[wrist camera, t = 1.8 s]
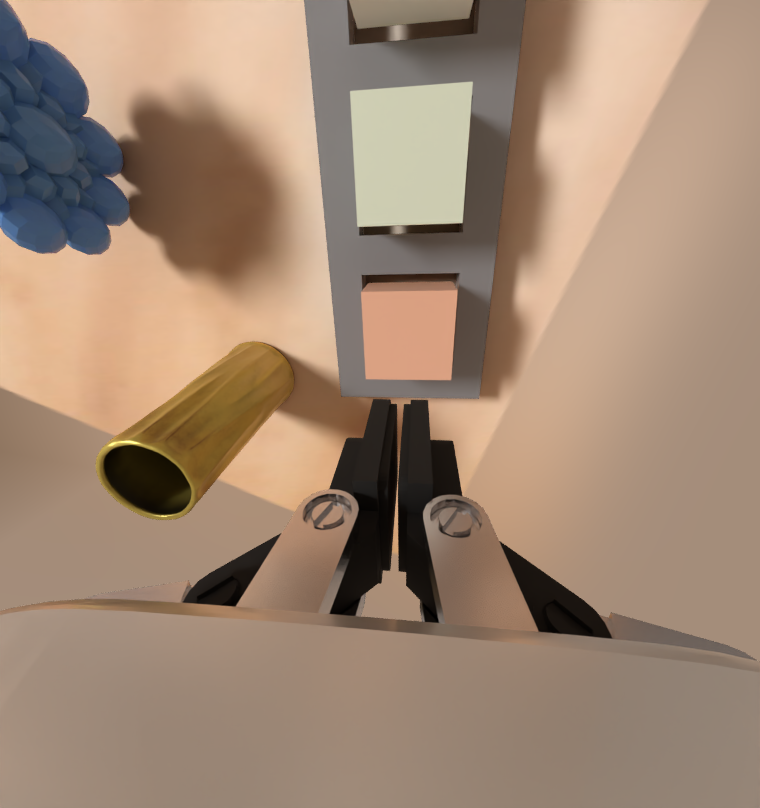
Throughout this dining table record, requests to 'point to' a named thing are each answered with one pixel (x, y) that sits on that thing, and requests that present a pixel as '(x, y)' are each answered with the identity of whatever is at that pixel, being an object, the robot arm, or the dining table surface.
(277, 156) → the dining table surface
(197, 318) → the dining table surface
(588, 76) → the dining table surface
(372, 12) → the key ivory
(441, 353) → the key terracotta
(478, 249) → the keypad board
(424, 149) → the key sage
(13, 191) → the blue flower rosette
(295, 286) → the dining table surface
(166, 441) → the vase
